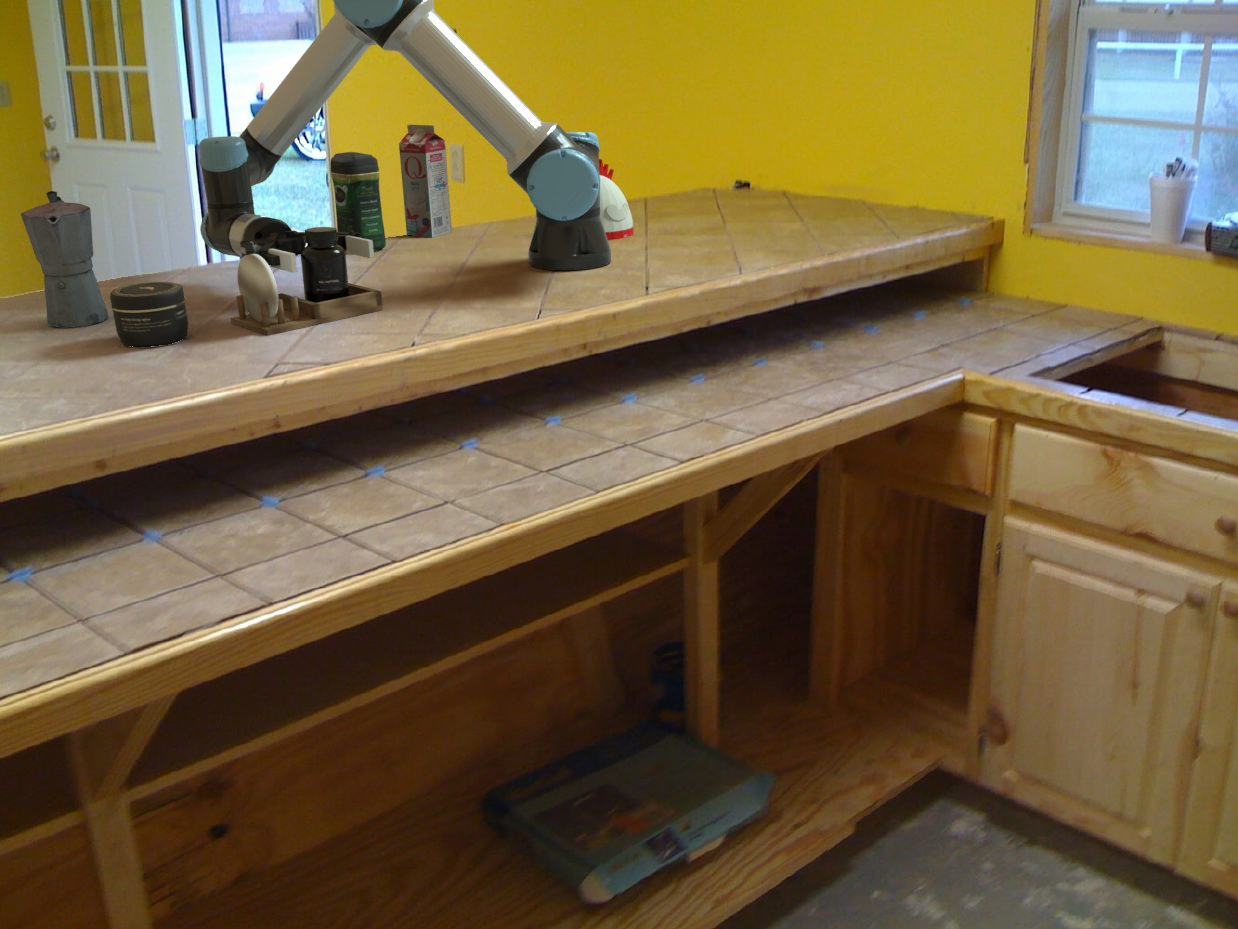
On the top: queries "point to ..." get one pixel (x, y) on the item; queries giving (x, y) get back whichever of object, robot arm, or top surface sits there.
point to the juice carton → (425, 182)
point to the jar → (150, 313)
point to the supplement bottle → (323, 266)
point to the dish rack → (291, 302)
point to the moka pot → (66, 261)
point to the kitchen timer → (613, 207)
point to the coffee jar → (358, 196)
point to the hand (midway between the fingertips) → (333, 256)
